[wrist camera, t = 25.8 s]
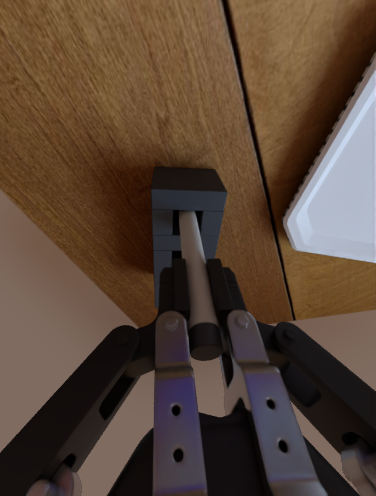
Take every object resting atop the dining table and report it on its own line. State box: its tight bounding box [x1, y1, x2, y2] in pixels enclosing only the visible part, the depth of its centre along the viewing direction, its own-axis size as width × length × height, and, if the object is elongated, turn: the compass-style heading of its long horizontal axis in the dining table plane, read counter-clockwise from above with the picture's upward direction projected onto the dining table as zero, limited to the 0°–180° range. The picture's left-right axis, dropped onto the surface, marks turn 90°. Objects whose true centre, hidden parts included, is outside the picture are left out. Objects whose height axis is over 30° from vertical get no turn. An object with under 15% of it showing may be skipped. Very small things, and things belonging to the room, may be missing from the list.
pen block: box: [151, 167, 227, 307], centre depth 21 cm, size 13×6×5 cm, turn 176°
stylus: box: [179, 210, 224, 361], centre depth 14 cm, size 1×1×12 cm
